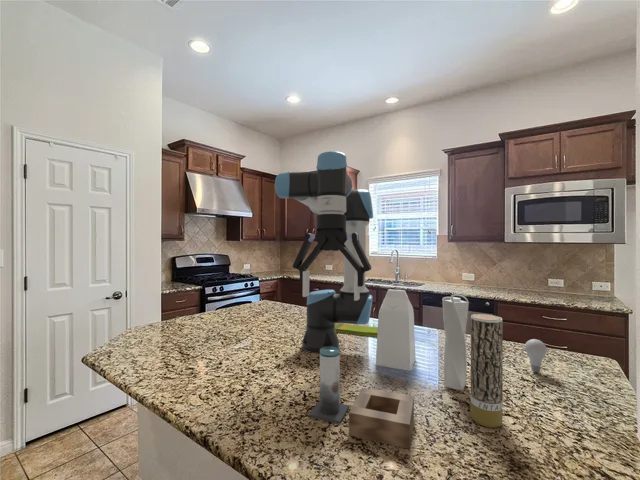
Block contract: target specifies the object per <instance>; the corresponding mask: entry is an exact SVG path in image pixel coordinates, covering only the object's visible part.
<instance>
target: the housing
mask: <svg viewBox="0 0 640 480" xmlns="http://www.w3.org/2000/svg"><path fill="white" fill-rule="evenodd" d="M354 400H355V401H354V402H353V404H352V406H351V408H350V410H349V411H348V436H351V437H356V438H359V439H364V440H369V441H372V442H376V443H377V442H378V443H382V444H387V445H392V446H395V447H399V448H402V449H403V448H404V449H408V450H410V447H411V441H412V435H413V434H412V433H413V424H414V418H415V417H414V416H415V407H414V406H415V396H413V395H407V394H401V393H396V392H391V391H383V390H379V389H372V388H368V387H367V388H366V387H361V388H360V391H359V393H358V395H357V396H356V399H354Z"/></svg>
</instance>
